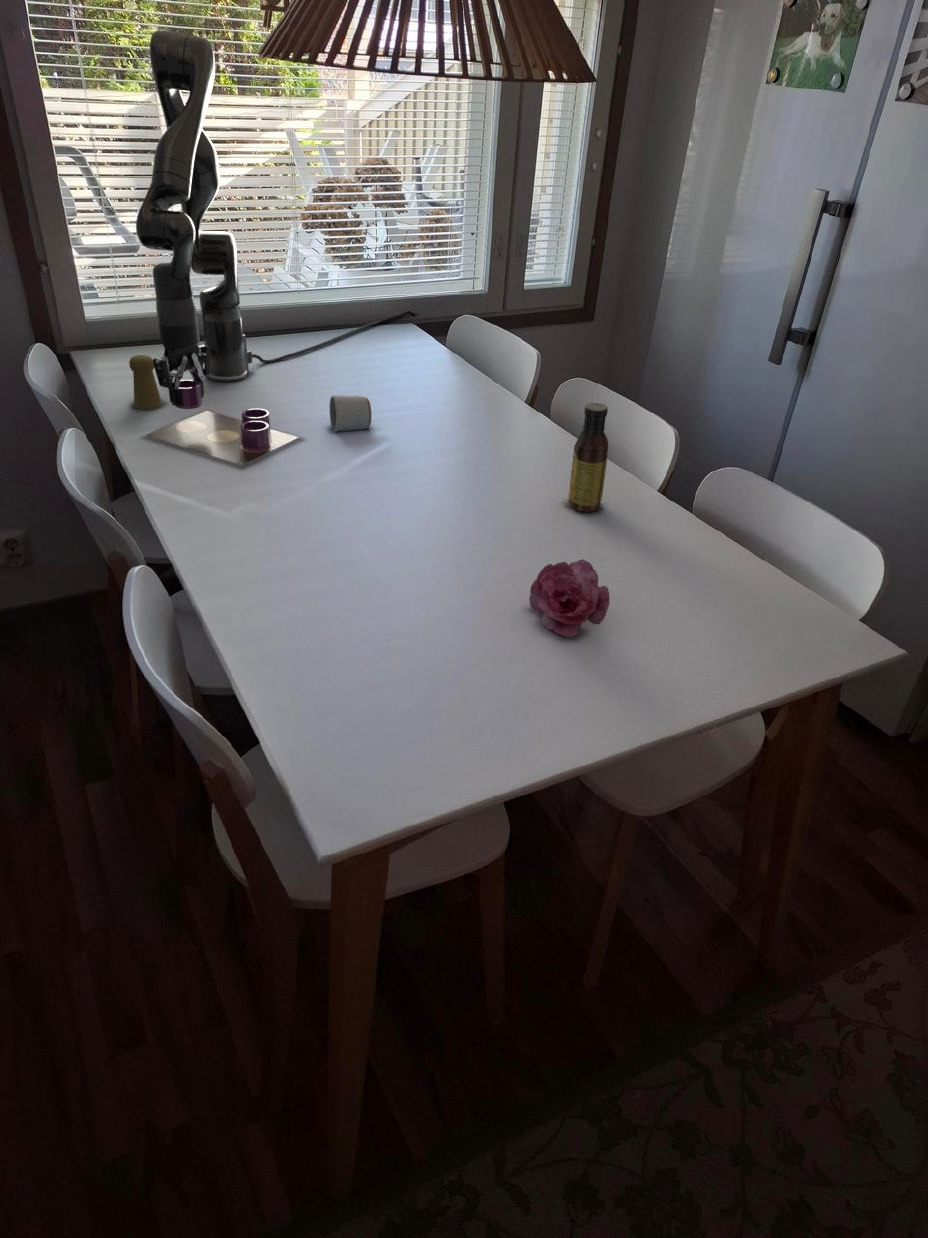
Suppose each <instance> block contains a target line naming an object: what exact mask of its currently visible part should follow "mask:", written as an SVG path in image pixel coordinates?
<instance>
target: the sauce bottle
mask: <svg viewBox="0 0 928 1238" xmlns="http://www.w3.org/2000/svg"><path fill="white" fill-rule="evenodd" d="M608 409H609V408H608V406H607V405H606V404H605V403H601V402H588V403H586V404H585V406H584V410H583V411H584V412H583V413H584V421H583V426H582V430H581V432H580V433H579V436H578V437H577V440H576V442H575V444H574V446H573V454H572V464H571V473H570V481H569V490H568V491H569V492H568V504H569V507H571V508H572V509H573V510H576V511H578V512H583V513H590V512H594V511H595V512H596V511H598V509H600V507H601V502H602V500H603V493H604V488H605V487H604V486H605V479H606V472H607V471H606V470H607V463H608V452H609V440H608V436H607V435H606V433H605V429H606V427H605V425H606V417H607V415H608Z"/></svg>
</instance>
